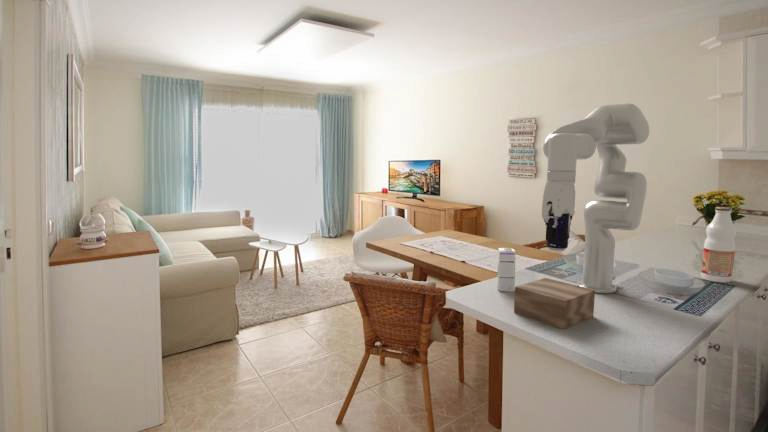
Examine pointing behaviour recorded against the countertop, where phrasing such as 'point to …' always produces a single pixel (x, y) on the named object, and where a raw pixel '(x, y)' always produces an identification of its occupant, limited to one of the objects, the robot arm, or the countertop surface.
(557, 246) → the beverage can
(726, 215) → the fruit juice
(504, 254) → the syrup box
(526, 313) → the walnut block
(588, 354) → the countertop surface
